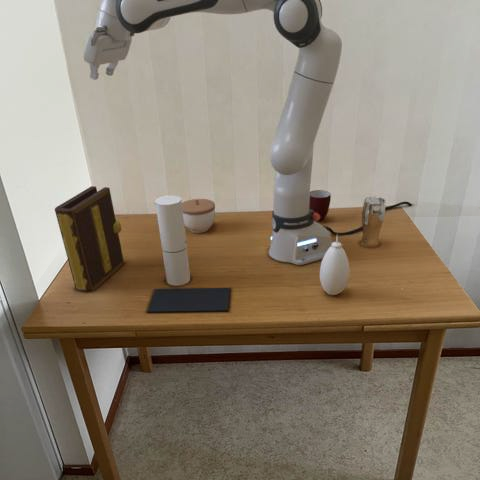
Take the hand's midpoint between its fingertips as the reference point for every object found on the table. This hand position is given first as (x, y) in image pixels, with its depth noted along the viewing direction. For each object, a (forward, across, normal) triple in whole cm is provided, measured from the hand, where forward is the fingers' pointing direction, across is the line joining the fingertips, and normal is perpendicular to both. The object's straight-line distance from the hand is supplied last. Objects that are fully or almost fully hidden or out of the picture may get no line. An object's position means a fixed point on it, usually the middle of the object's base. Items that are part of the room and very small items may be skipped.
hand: (101, 76), depth 141 cm
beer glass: (+12, +14, -95) cm, 97 cm away
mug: (+21, +31, -77) cm, 85 cm away
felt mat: (+34, -31, -53) cm, 70 cm away
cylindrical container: (+37, -20, -46) cm, 62 cm away
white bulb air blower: (+17, -20, -88) cm, 91 cm away
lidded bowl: (+38, +17, -41) cm, 59 cm away
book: (+48, -21, -23) cm, 57 cm away
